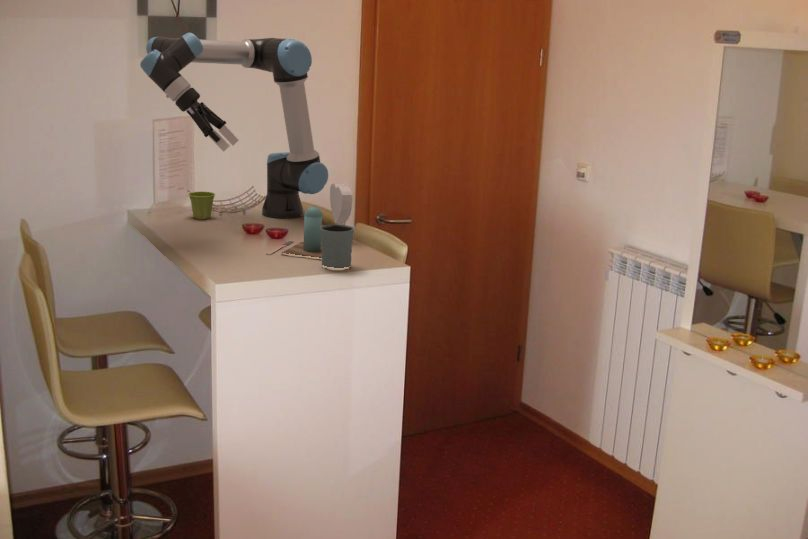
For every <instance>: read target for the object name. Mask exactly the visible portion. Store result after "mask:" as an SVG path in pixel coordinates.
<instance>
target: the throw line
mask: <svg viewBox="0 0 808 539" xmlns="http://www.w3.org/2000/svg"><path fill="white" fill-rule="evenodd" d="M290 243H291V244H293V243H294V241H293V240H289V241H287V242H285V243H283V244H282V245H288V244H290ZM291 244H290V245H291ZM288 246H289V245H288Z"/></svg>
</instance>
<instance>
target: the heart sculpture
mask: <svg viewBox="0 0 808 539" xmlns="http://www.w3.org/2000/svg"><path fill="white" fill-rule="evenodd" d="M329 202H330V209H331V214H332V217H333V221H334V224H336V225H344V224H346V223H347V221H348V219H349V218H350V216H351V213H352V208H353V193H352V190H351V188H350V186H346V184H345V183H331V185H330V188H329Z"/></svg>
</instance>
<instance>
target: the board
mask: <svg viewBox="0 0 808 539" xmlns="http://www.w3.org/2000/svg"><path fill="white" fill-rule="evenodd" d="M303 242H304V241H300V242H299V243H296V244H295V245H293V246H291V247H290V248H288V249H286V250H284V251H281V253H286V254H289V253H290V254H295V255H302V256H311V257H319V258H322V250H320V251H317V252H309V251H305V250H303ZM321 246H322V245H321Z"/></svg>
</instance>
